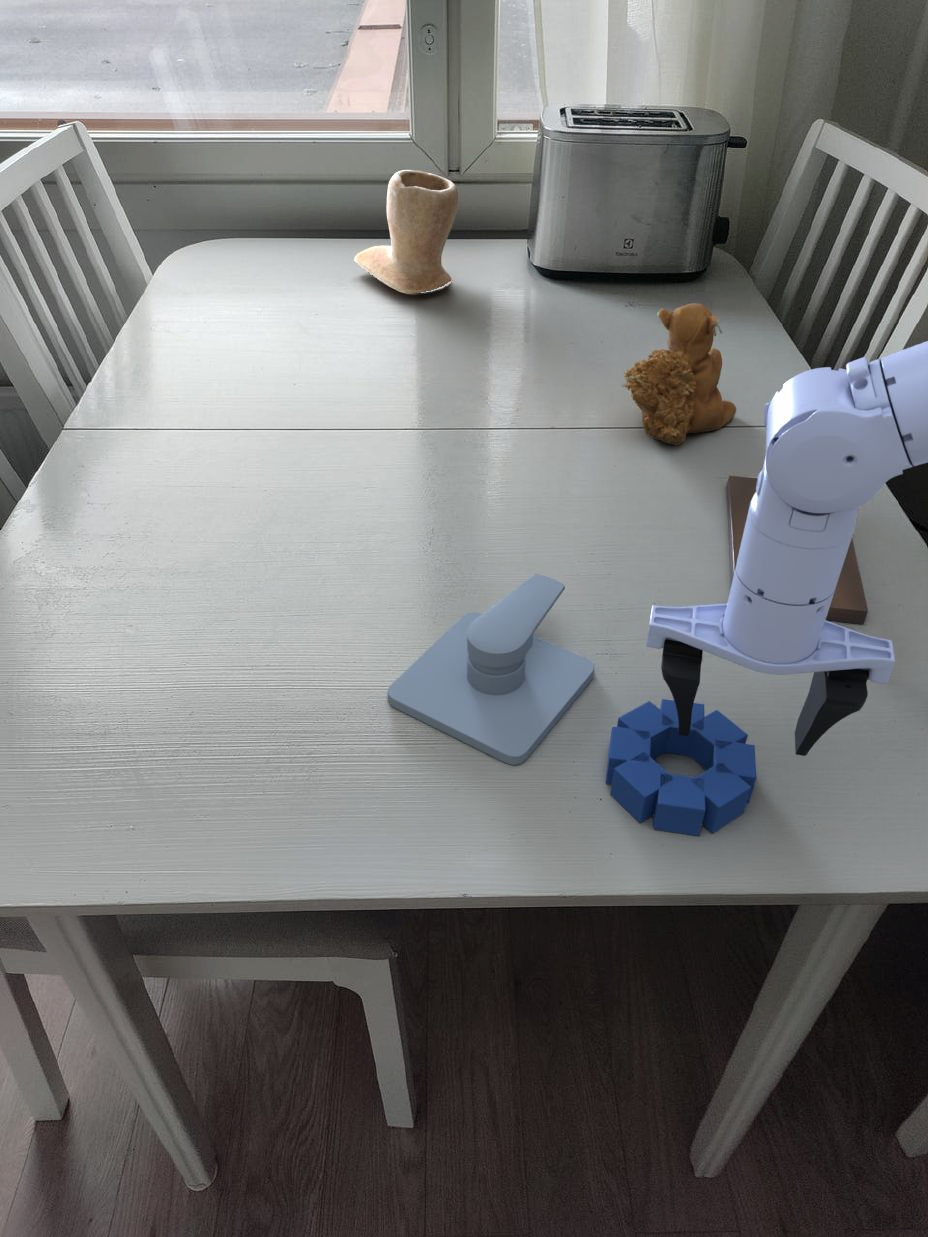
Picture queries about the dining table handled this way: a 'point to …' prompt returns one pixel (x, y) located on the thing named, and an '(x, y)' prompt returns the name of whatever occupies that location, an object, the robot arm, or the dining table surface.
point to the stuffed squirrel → (681, 378)
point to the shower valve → (496, 676)
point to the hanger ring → (676, 796)
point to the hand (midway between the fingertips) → (741, 734)
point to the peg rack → (849, 587)
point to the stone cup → (414, 233)
